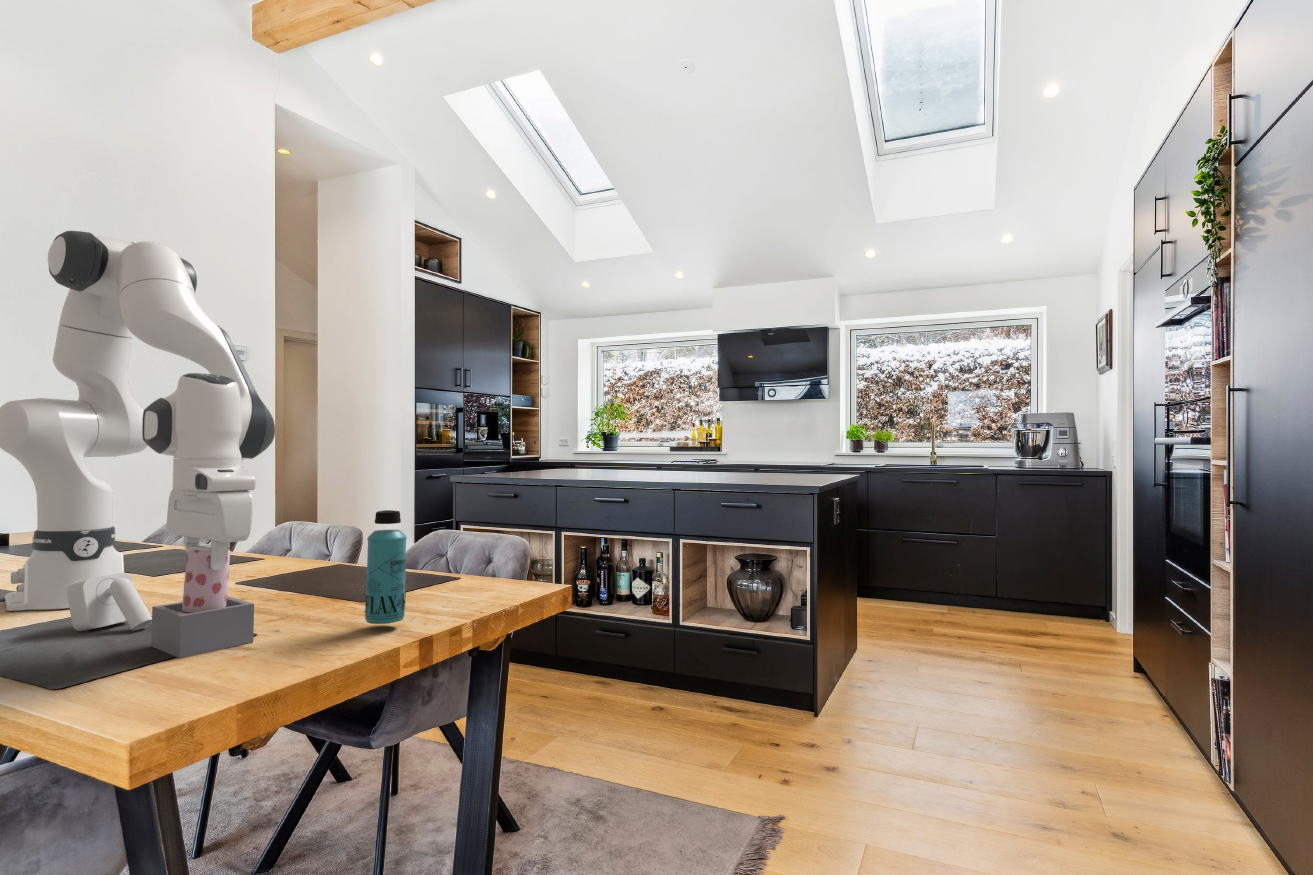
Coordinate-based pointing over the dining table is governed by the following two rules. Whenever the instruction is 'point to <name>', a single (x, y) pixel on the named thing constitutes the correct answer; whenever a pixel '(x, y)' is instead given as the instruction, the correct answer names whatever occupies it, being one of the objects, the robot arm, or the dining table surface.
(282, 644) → the dining table surface
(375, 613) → the beverage bottle
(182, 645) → the open box
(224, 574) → the beverage can
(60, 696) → the dining table surface
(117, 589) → the wall hook
